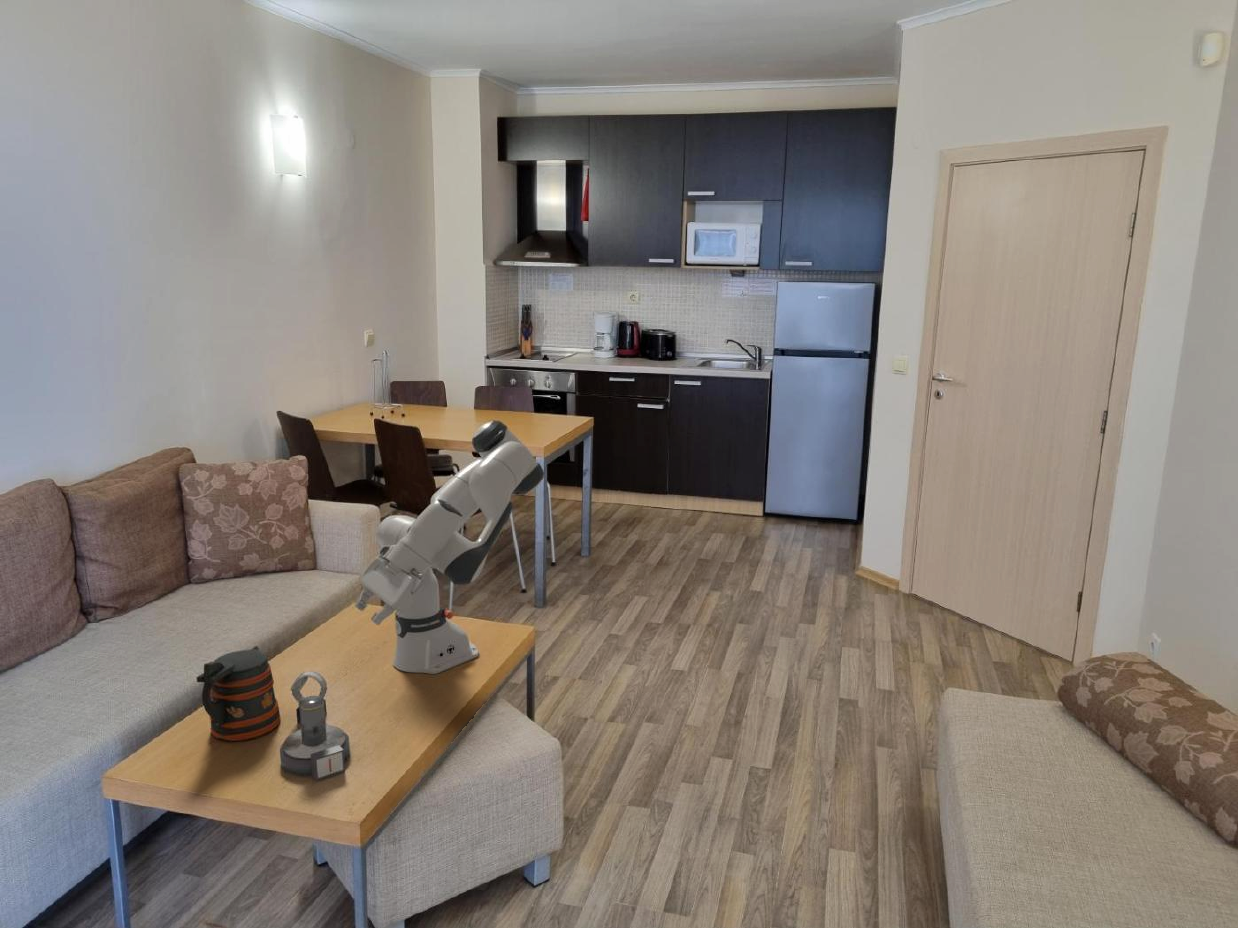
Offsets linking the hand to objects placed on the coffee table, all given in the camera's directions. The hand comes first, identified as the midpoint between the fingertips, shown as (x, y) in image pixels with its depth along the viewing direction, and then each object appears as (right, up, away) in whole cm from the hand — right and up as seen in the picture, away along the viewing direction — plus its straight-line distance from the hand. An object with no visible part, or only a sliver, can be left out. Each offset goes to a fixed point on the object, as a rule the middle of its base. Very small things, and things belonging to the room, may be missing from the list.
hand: (366, 615), depth 189 cm
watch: (-17, -26, +16) cm, 35 cm away
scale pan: (-10, -27, -2) cm, 29 cm away
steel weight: (-10, -26, -2) cm, 28 cm away
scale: (-10, -30, -2) cm, 32 cm away
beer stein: (-31, -28, +9) cm, 43 cm away
